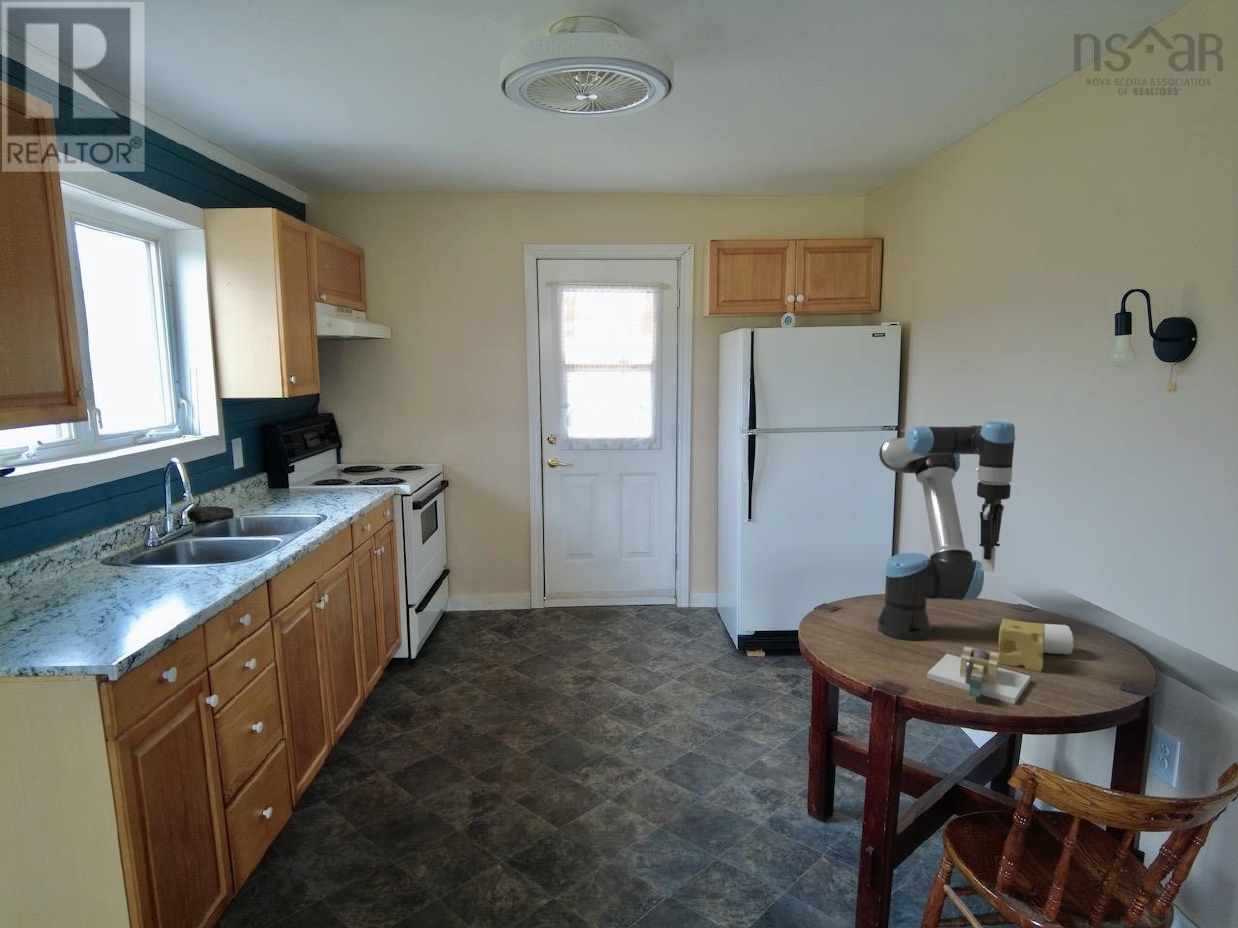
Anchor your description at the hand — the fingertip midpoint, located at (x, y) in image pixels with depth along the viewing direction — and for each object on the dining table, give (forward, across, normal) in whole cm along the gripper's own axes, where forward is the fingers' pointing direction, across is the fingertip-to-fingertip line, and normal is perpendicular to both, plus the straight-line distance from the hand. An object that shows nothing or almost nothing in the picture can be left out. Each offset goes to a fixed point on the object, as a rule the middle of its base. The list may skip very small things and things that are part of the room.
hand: (987, 570), depth 176 cm
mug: (+27, -23, +10) cm, 37 cm away
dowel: (+25, +16, +2) cm, 30 cm away
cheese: (+27, -10, +7) cm, 29 cm away
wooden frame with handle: (+25, +14, +3) cm, 29 cm away
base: (+26, +10, +2) cm, 28 cm away
